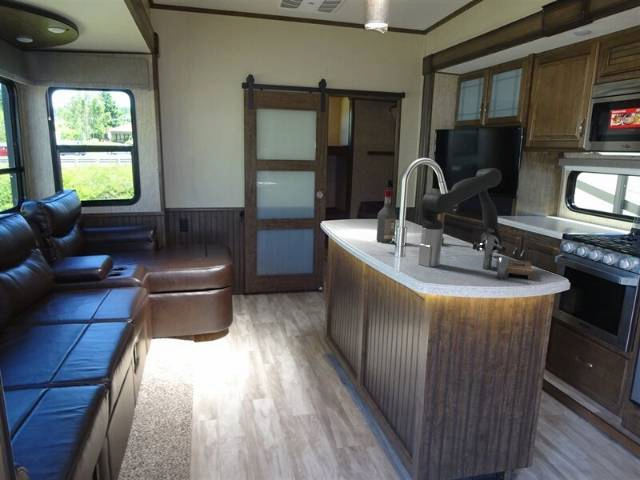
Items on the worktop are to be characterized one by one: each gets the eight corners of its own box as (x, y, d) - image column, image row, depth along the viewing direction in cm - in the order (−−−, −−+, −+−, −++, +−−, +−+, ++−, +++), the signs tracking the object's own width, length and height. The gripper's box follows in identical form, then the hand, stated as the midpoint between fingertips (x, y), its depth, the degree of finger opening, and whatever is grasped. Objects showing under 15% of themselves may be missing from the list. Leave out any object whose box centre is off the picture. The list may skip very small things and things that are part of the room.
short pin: (503, 280, 185) (505, 259, 183) (495, 278, 188) (497, 257, 186) (507, 279, 187) (509, 258, 186) (499, 277, 190) (501, 256, 188)
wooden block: (424, 243, 259) (426, 212, 256) (439, 242, 263) (442, 212, 260) (428, 244, 256) (430, 213, 253) (443, 244, 260) (446, 213, 257)
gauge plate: (531, 280, 187) (532, 270, 186) (505, 276, 191) (506, 267, 190) (529, 270, 203) (530, 261, 202) (505, 267, 207) (506, 259, 206)
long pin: (488, 270, 201) (491, 237, 198) (481, 268, 204) (484, 236, 201) (492, 269, 203) (495, 236, 201) (485, 267, 206) (488, 235, 203)
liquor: (374, 241, 261) (377, 190, 255) (384, 239, 267) (387, 189, 261) (386, 244, 254) (389, 191, 249) (396, 242, 260) (399, 190, 255)
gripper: (475, 235, 217) (472, 240, 203) (506, 237, 212) (506, 243, 197) (473, 250, 219) (471, 256, 204) (505, 253, 213) (504, 260, 199)
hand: (488, 250), depth 201 cm, fingers open, 8 cm apart
